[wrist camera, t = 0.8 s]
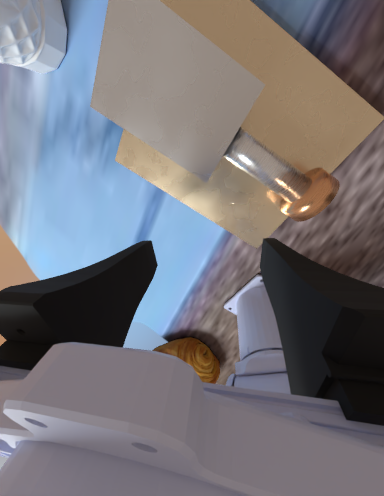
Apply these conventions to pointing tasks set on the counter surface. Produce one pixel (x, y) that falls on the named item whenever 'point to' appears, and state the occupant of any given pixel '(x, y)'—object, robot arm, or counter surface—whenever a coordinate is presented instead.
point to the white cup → (32, 34)
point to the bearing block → (220, 104)
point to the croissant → (194, 357)
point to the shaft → (283, 177)
